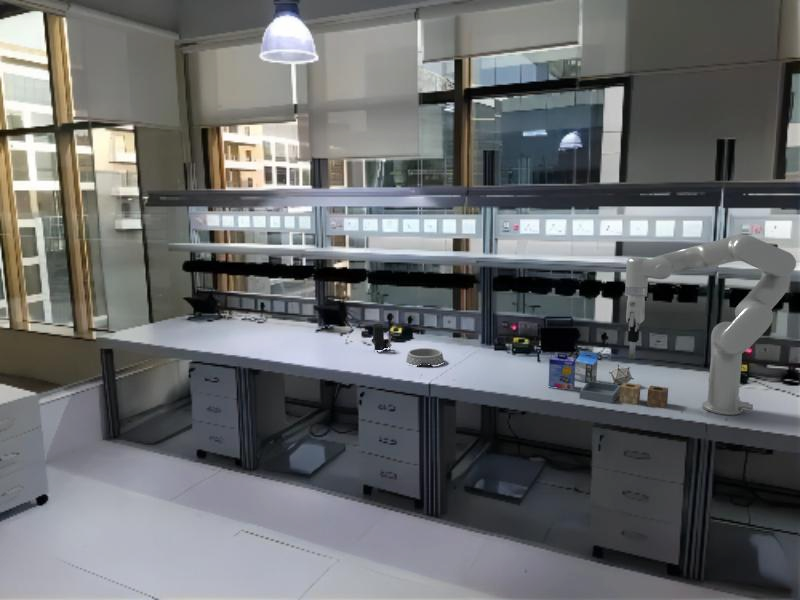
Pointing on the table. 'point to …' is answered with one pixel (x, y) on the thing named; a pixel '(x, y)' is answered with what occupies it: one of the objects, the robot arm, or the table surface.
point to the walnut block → (657, 396)
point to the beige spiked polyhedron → (621, 375)
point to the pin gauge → (632, 350)
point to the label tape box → (586, 367)
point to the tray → (600, 392)
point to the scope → (380, 338)
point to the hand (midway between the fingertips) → (633, 340)
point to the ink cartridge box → (562, 372)
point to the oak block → (630, 393)
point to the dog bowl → (424, 356)
